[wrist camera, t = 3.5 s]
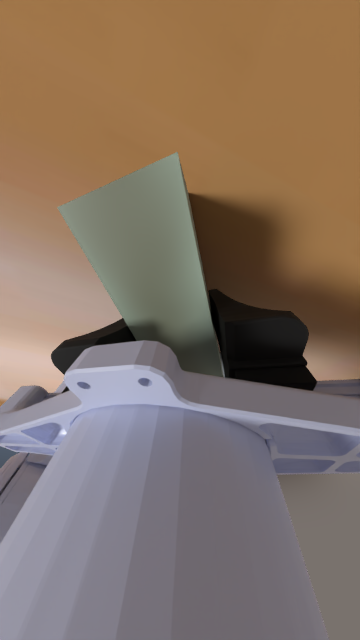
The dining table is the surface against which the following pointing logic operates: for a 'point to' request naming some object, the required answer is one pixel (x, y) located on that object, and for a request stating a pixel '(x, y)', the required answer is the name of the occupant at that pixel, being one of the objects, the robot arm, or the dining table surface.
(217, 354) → the block
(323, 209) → the dining table surface
